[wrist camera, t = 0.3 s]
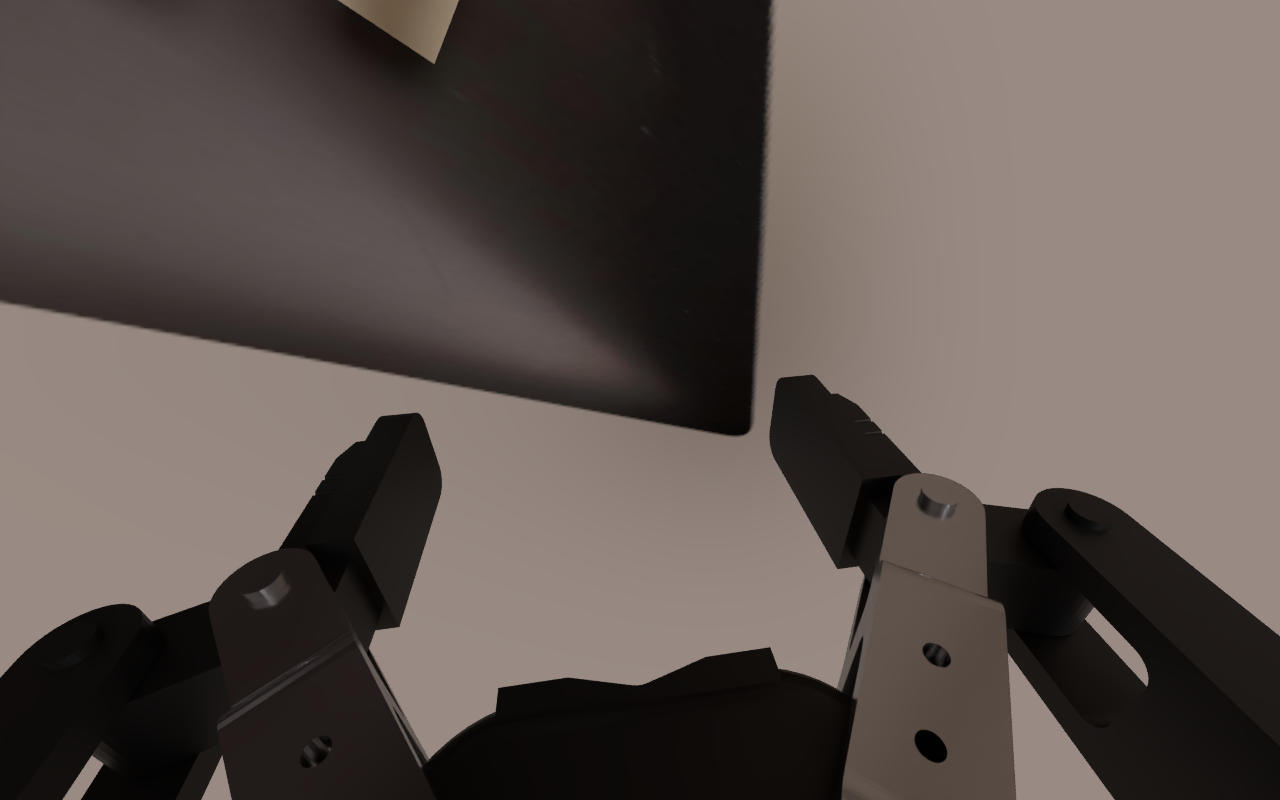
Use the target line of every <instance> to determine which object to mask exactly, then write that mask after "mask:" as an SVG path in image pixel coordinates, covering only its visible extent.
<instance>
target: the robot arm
mask: <svg viewBox="0 0 1280 800" xmlns="http://www.w3.org/2000/svg"><path fill="white" fill-rule="evenodd" d="M770 446H771V451H772V454H773V457H774V459H775V461H776V462H777V464H778V466H779V467H780V469H781V471H782V473H783V474H784V476H785V478H786V480H787V482H788V483H789V485H790V487H791V489H792V490H793V492H794V494H795V496H796V497H797V499H798V501H799V503H800V504H801V506H802V508H803V510H804V511H805V513H806V515H807V517H808V518H809V520H810V522H811V524H812V525H813V527H814V529H815V531H816V532H817V534H818V536H819V538H820V539H821V541H822V543H823V545H824V546H825V548H826V550H827V552H828V553H829V555H830V557H831V559H832V560H833V562H834V564H835V566H836V567H837V569H842V568H849V567H856V566H859V567H860V569H861V570H862V572H863V573H864V575H865V576H864V579H863V582H862V585H861V589H860V593H859V598H858V603H857V607H856V612H855V616H854V620H853V625H852V629H851V634H850V638H849V643H848V647H847V652H846V657H845V661H844V665H843V669H842V673H841V676H840V680H839V683H838V687H837V689H836V688H834V687H832V686H830V685H828V684H826V683H824V682H822V681H820V680H817V679H815V678H812V677H810V676H807V675H804V674H800V673H796V672H792V671H788V670H782V669H778V667H777V665H776V662H775V659H774V656H773V654H772V651H771V648H770V647H769V648H763V649H756V650H749V651H742V652H736V653H729V654H722V655H716V656H709V657H705V658H703V659H700V660H698V661H696V662H693V663H691V664H689V665H687V666H685V667H683V668H680V669H678V670H676V671H673V672H671V673H669V674H667V675H664V676H662V677H660V678H658V679H655V680H653V681H651V682H649V683H646V684H643V685H638V686H637V685H636V686H635V685H625V684H617V683H608V682H600V681H592V680H584V679H575V678H562V679H556V680H548V681H542V682H535V683H529V684H522V685H515V686H509V687H502V688H498V696H497V705H496V712H494V713H492V714H490V715H488V716H486V717H484V718H482V719H480V720H479V721H477V722H475V723H474V724H472V725H470V726H468V727H467V728H466V729H464V730H463V731H462V732H460V733H459V734H457V735H456V736H455V737H453V738H452V739H451V740H450V741H449V742H447V743H446V744H445V745H444V746H443V747H442V748H441V749H440V750H438V751H437V752H436V753H435V754H434V755H433V756H432V757H431V758H430V759H429V758H428V756H427V754H426V753H425V751H424V749H423V747H422V746H421V744H420V742H419V740H418V738H417V737H416V735H415V733H414V731H413V729H412V728H411V726H410V724H409V722H408V720H407V718H406V716H405V714H404V713H403V711H402V709H401V707H400V705H399V703H398V701H397V699H396V697H395V696H394V694H393V692H392V690H391V688H390V686H389V684H388V682H387V680H386V679H385V677H384V675H383V673H382V671H381V669H380V667H379V665H378V663H377V662H376V660H375V658H374V656H373V654H372V653H371V651H370V649H369V646H370V643H371V641H372V638H373V635H374V632H375V630H380V629H388V628H395V627H399V626H400V623H401V620H402V617H403V613H404V610H405V607H406V604H407V601H408V598H409V594H410V591H411V588H412V585H413V582H414V578H415V575H416V572H417V569H418V566H419V562H420V559H421V556H422V553H423V550H424V546H425V543H426V540H427V537H428V534H429V531H430V527H431V524H432V521H433V518H434V514H435V511H436V508H437V505H438V502H439V499H440V495H441V489H442V478H441V471H440V467H439V464H438V461H437V458H436V455H435V452H434V449H433V446H432V443H431V440H430V437H429V434H428V431H427V428H426V425H425V422H424V420H423V418H422V416H421V415H420V414H418V413H411V414H399V415H389V416H381V417H380V418H378V420H377V421H376V423H375V425H374V427H373V428H372V430H371V432H370V434H369V435H368V437H367V439H366V440H365V441H360V442H356V443H354V444H353V445H352V446H351V447H350V448H348V449H347V450H346V451H345V452H343V454H341V455H340V456H339V457H338V458H336V460H335V461H334V463H333V464H332V466H331V468H330V469H329V471H328V472H327V474H326V475H325V480H322V482H321V483H320V485H319V487H318V488H317V490H316V491H315V493H316V495H315V496H312V498H311V499H310V501H309V503H308V504H307V506H306V507H305V509H304V510H303V512H302V513H301V515H300V517H299V518H298V520H297V521H296V523H295V525H294V526H293V528H292V529H291V531H290V533H289V534H288V536H287V537H286V539H285V541H284V542H283V544H282V545H281V547H280V548H279V550H278V551H273V552H270V553H268V554H265V555H263V556H260V557H258V558H256V559H254V560H252V561H250V562H248V563H247V564H245V565H244V566H242V567H241V568H239V569H238V570H237V571H235V572H234V573H233V574H231V575H230V576H229V577H228V578H227V579H226V580H225V581H224V582H223V583H222V584H221V585H220V586H219V588H218V589H217V590H216V592H215V593H214V595H213V597H212V599H211V601H209V602H206V603H203V604H200V605H198V606H195V607H192V608H189V609H186V610H183V611H181V612H178V613H175V614H172V615H169V616H166V617H164V618H161V619H158V620H155V621H153V622H152V621H151V620H150V619H149V618H148V617H147V616H146V615H145V614H144V613H143V612H142V611H141V610H140V609H139V608H137V607H136V606H134V605H129V604H116V605H109V606H105V607H101V608H98V609H95V610H92V611H89V612H87V613H84V614H82V615H80V616H78V617H76V618H74V619H72V620H69V621H68V622H66V623H64V624H62V625H61V626H59V627H57V628H56V629H54V630H52V631H51V632H49V633H48V634H47V635H45V636H44V637H42V638H41V639H40V640H38V641H37V642H36V643H35V644H33V645H32V646H31V647H30V648H29V649H27V650H26V651H25V652H24V653H23V654H22V655H21V656H20V657H19V658H18V659H17V660H16V661H15V662H14V663H13V665H12V666H11V667H10V668H9V669H8V670H7V671H6V672H5V673H4V674H3V675H2V677H1V678H0V800H62V799H63V797H64V796H65V795H66V793H67V792H68V790H69V789H70V787H71V786H72V784H73V783H74V781H75V780H76V778H77V777H78V775H79V774H80V772H81V771H82V769H83V768H84V766H85V765H86V763H87V762H88V760H89V759H90V757H91V756H93V757H95V758H96V759H98V760H99V761H101V762H102V763H104V764H103V766H102V767H101V769H100V771H99V772H98V774H97V775H96V777H95V778H94V780H93V782H92V783H91V785H90V786H89V788H88V789H87V791H86V792H85V794H84V796H83V797H82V799H81V800H201V799H202V797H203V795H204V793H205V790H206V788H207V786H208V784H209V782H210V780H211V778H212V775H213V773H214V771H215V769H216V767H217V765H218V763H219V760H220V758H221V756H223V760H224V764H225V770H226V774H227V779H228V784H229V788H230V793H231V798H232V800H1016V788H1015V770H1014V754H1013V736H1012V720H1011V702H1010V685H1009V667H1008V653H1009V655H1010V656H1011V658H1012V659H1013V660H1014V662H1015V663H1016V664H1017V665H1018V667H1019V669H1020V670H1021V671H1022V673H1023V674H1024V675H1025V677H1026V678H1027V680H1028V681H1029V682H1030V684H1031V685H1032V686H1033V688H1034V689H1035V691H1036V692H1037V693H1038V695H1039V696H1040V697H1041V699H1042V700H1043V701H1044V703H1045V704H1046V706H1047V707H1048V708H1049V710H1050V711H1051V713H1052V714H1053V715H1054V717H1055V718H1056V719H1057V721H1058V722H1059V724H1060V725H1061V726H1062V728H1063V729H1064V731H1065V732H1066V733H1067V735H1068V736H1069V737H1070V739H1071V740H1072V742H1073V743H1074V744H1075V745H1076V747H1077V748H1078V750H1079V751H1080V753H1081V754H1082V755H1083V757H1084V758H1085V759H1086V761H1087V762H1088V763H1089V765H1090V766H1091V768H1092V769H1093V770H1094V772H1095V773H1096V775H1097V776H1098V777H1099V779H1100V780H1101V781H1102V783H1103V784H1104V786H1105V787H1106V788H1107V790H1108V791H1109V792H1110V794H1111V795H1112V796H1113V798H1114V799H1115V800H1280V636H1279V635H1278V634H1276V633H1275V632H1274V631H1272V630H1271V629H1270V628H1269V627H1268V626H1266V625H1265V624H1264V623H1262V622H1261V621H1260V620H1258V619H1257V618H1256V617H1255V616H1254V615H1253V614H1251V613H1250V612H1249V611H1248V610H1246V609H1245V608H1244V607H1243V606H1241V605H1240V604H1239V603H1237V602H1236V601H1235V600H1234V599H1233V598H1231V597H1230V596H1229V595H1228V594H1226V593H1225V592H1224V591H1223V590H1221V589H1220V588H1219V587H1218V586H1216V585H1215V584H1214V583H1213V582H1211V581H1210V580H1209V579H1208V578H1206V577H1205V576H1204V575H1202V574H1201V573H1200V572H1199V571H1198V570H1196V569H1195V568H1194V567H1193V566H1191V565H1190V564H1189V563H1188V562H1186V561H1185V560H1184V559H1183V558H1181V557H1180V556H1179V555H1178V554H1176V553H1175V552H1174V551H1173V550H1171V549H1170V548H1169V547H1168V546H1166V545H1165V544H1164V543H1163V542H1161V541H1160V540H1159V539H1158V538H1156V537H1155V536H1154V535H1153V534H1151V533H1150V532H1149V531H1148V530H1146V529H1145V528H1144V527H1143V526H1141V525H1140V524H1139V523H1138V522H1136V521H1135V520H1134V519H1133V518H1131V517H1130V516H1129V515H1128V514H1126V513H1125V512H1124V511H1122V510H1121V509H1119V508H1118V507H1116V506H1114V505H1112V504H1111V503H1109V502H1107V501H1105V500H1103V499H1101V498H1098V497H1096V496H1093V495H1091V494H1087V493H1084V492H1081V491H1076V490H1072V489H1064V488H1051V489H1046V490H1043V491H1041V492H1039V493H1038V494H1037V495H1036V497H1035V499H1034V500H1033V502H1032V504H1031V506H1030V508H1029V509H1020V508H1011V507H1003V506H994V505H985V504H982V503H981V501H980V500H979V499H978V498H977V497H976V496H975V495H974V494H973V493H972V492H971V491H970V490H969V489H967V488H966V487H964V486H962V485H961V484H959V483H957V482H955V481H953V480H950V479H948V478H945V477H942V476H937V475H933V474H926V473H921V472H920V471H919V470H918V469H917V468H916V467H915V466H914V465H913V463H912V462H911V461H910V460H909V459H908V458H907V457H906V456H905V455H904V454H903V453H902V452H901V451H900V450H899V449H898V448H897V446H896V445H895V444H894V443H893V442H892V441H891V440H890V439H889V438H888V437H887V436H886V435H885V434H882V432H881V429H880V428H879V427H878V426H877V425H876V424H875V423H874V422H871V419H870V418H869V417H868V416H867V414H866V413H865V412H864V411H863V410H862V409H861V408H860V407H859V406H858V405H857V404H855V403H853V402H852V401H850V400H848V399H846V398H845V397H843V396H841V395H839V394H831V393H830V392H829V391H828V390H827V389H826V388H825V387H824V386H823V384H822V383H821V382H820V381H819V380H818V379H817V378H816V377H815V376H814V375H805V376H794V377H784V378H780V379H779V380H778V381H777V384H776V388H775V396H774V403H773V411H772V418H771V426H770ZM1094 607H1095V608H1096V609H1097V610H1098V611H1099V612H1100V613H1101V614H1102V615H1103V616H1104V618H1105V619H1107V621H1108V622H1109V623H1110V624H1111V625H1112V626H1113V627H1114V628H1115V629H1116V630H1117V631H1118V632H1119V633H1120V634H1121V635H1122V636H1123V637H1124V638H1125V639H1126V640H1127V641H1128V643H1129V644H1130V645H1131V646H1132V647H1133V648H1134V649H1135V650H1136V651H1137V652H1138V654H1139V655H1140V657H1141V658H1142V660H1143V662H1144V663H1145V666H1146V668H1147V672H1148V677H1149V680H1148V686H1146V685H1145V684H1144V683H1143V682H1142V681H1141V680H1140V679H1139V678H1138V677H1137V676H1136V674H1135V673H1134V672H1133V671H1132V670H1131V669H1130V668H1129V667H1128V666H1127V665H1126V664H1125V662H1123V660H1122V659H1121V658H1120V657H1119V656H1118V655H1117V654H1116V653H1115V652H1114V651H1113V650H1112V648H1111V647H1110V646H1109V645H1108V644H1107V643H1106V642H1105V641H1104V640H1103V638H1102V637H1101V636H1100V635H1099V634H1098V633H1097V632H1096V631H1095V630H1094V629H1093V628H1092V626H1091V625H1090V624H1089V623H1087V621H1086V620H1085V618H1086V617H1087V615H1088V614H1089V613H1090V612H1091V610H1092V609H1093V608H1094Z"/></svg>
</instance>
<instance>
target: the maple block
mask: <svg viewBox="0 0 1280 800" xmlns="http://www.w3.org/2000/svg"><path fill="white" fill-rule="evenodd" d="M339 1H340V2H342V3H343V4H345V5H346V6H348V7H349V8H351V9H352V10H354V11H355V12H357V13H358V14H360V15H361V16H363V17H364V18H366V19H367V20H369V21H370V22H372V23H373V24H375V25H376V26H378V27H379V28H381V29H382V30H384V31H385V32H387V33H388V34H390V35H391V36H393V37H394V38H396V39H397V40H399V41H400V42H402V43H403V44H405V45H406V46H408V47H409V48H411V49H412V50H414V51H415V52H417V53H418V54H420V55H421V56H423V57H424V58H426V59H428V60H429V61H431V62H432V63H434V64H435V61H436V58H437V56H438V53H439V51H440V48H441V45H442V43H443V40H444V37H445V35H446V32H447V30H448V27H449V24H450V22H451V19H452V17H453V14H454V11H455V9H456V6H457V4H458V1H459V0H339Z"/></svg>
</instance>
